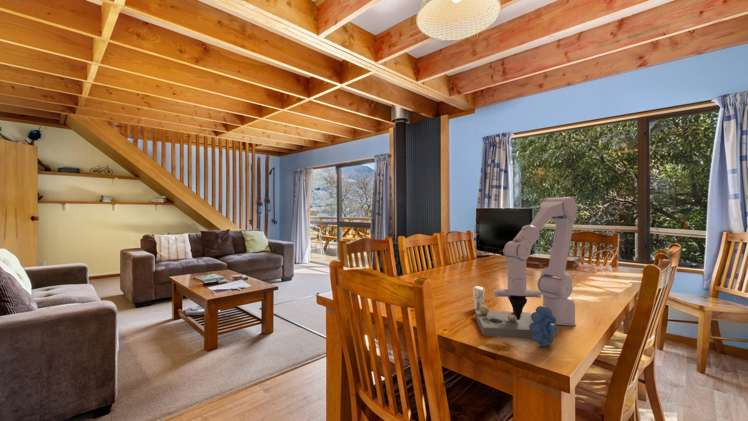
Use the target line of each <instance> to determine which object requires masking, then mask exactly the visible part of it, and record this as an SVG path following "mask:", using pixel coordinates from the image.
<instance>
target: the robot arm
mask: <svg viewBox="0 0 748 421" xmlns="http://www.w3.org/2000/svg"><path fill="white" fill-rule="evenodd" d="M539 208H540V209H539V210H538V212H537V214H536V215H535V216H534V218H533V220H531V222H530V224H527V225H524V226H522V227H521V230H520V231H519V232H518V233H517V234H516V236H515V237H513V239H512V240H510V241H508V242H507V243H506V244H505V245H504V248H503V249H502V252H503V255H504V257H505V262H506V263H507V265H506V267H507V271H506V272H507V275H506V276H507V288H506V289H493V297H495V298H499V297H501V298H505V297H507V299H508V300H509V302H510V304H511V308H512V312H513V311H514V313H516V316H517V320H520V316H521V312H522V310H523V309H524V307H525V305H526V304H527V303H528V299H527V298H537V299H541V298H542V307H544V308H545V307H548V308H550V309H551V311H552V313H553V314H552V315H553V316H554V317H555V318H556V321H557V322H556V323H555V324H554V325H556V326H573V327H574V326H575V327H576V326H577V324H576V304H575V301H574V299H573V298H572V297H570V296H571V294H572V292H573V283H572V282H573V276H571V275H570V274H569V273H568V272H567V271H566V269H567V263H568V257H569V253H570V246H571V240H572V236H573V230H574V223H575V222H576V220H577V212H578V208H579V206H578V204H577V202H576V199H575V198H574V197H572V196H566V197H565V196H564V197H561V196H560V197H544V199H543V200H542V201H541V202H540V204H539ZM549 221H551V222H553V223H554V225H555V230H554V235H553V240H552V244H551V250H550V257H549V262H548V267H547V268H545V269H544V268H543V270H541V273H540V276H539V278H538V279H537V283H536V284H537V288H538V290H532V289H531V290H530V289H527V259H528V258H529V257H530V255H531V251H532V249H533V245H534V244H535V243H536V242H537V240H538V239H539V237H540V236H541V233H540V231H541V230H542V229H543V227H545V225H546V224H547V223H548V222H549ZM523 311H524V310H523Z"/></svg>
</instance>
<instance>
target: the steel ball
mask: <svg viewBox="0 0 748 421" xmlns="http://www.w3.org/2000/svg"><path fill="white" fill-rule="evenodd" d="M509 312H510V313H509V314H508V316H507V317H508V320H509V321H511V322H516V321H517V316H516V313H514V312H513V311H509Z"/></svg>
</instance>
